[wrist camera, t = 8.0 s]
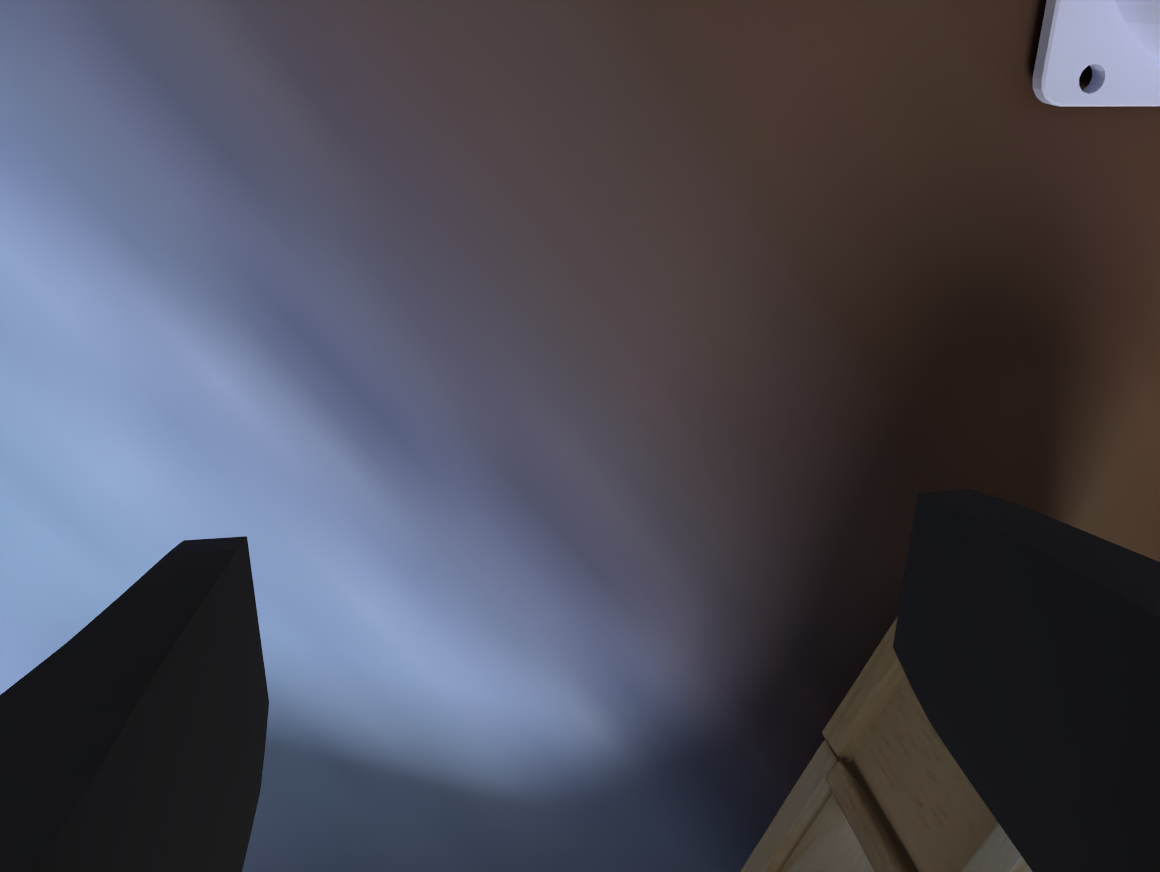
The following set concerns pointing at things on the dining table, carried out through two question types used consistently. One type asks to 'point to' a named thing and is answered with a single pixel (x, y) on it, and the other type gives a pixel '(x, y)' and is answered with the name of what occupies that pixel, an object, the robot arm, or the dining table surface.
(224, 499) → the dining table surface
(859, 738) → the toy kitchen set
